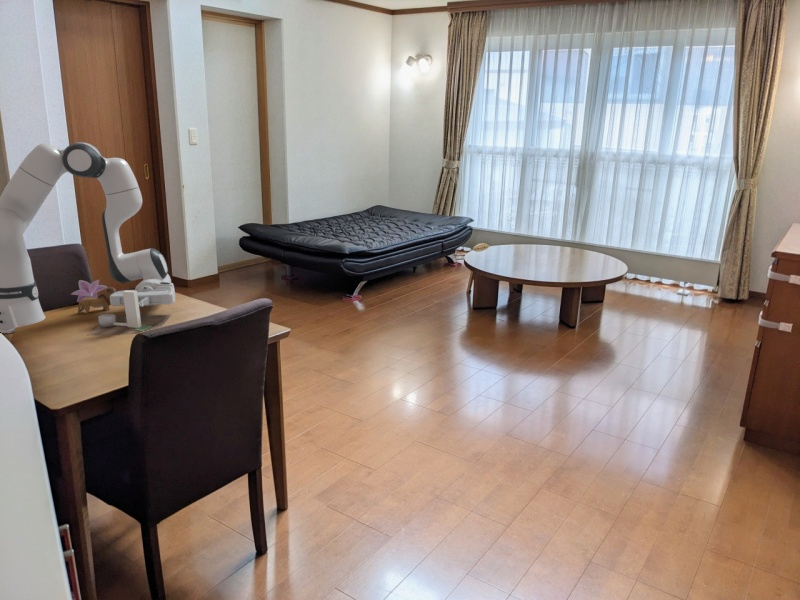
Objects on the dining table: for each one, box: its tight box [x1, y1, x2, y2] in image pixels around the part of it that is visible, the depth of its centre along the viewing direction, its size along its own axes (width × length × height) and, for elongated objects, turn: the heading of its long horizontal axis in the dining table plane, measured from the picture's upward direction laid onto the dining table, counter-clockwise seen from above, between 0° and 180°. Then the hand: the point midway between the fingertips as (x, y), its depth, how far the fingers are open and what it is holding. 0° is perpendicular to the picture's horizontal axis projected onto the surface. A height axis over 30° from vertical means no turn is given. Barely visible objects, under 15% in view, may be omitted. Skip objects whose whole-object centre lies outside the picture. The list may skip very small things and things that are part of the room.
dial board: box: [86, 314, 172, 336], centre depth 197 cm, size 21×19×2 cm
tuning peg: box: [97, 289, 142, 328], centre depth 194 cm, size 14×5×12 cm, turn 77°
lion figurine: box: [77, 287, 117, 315], centre depth 211 cm, size 15×5×9 cm, turn 132°
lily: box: [70, 279, 109, 303], centre depth 226 cm, size 12×12×10 cm
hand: (136, 304), depth 193 cm, fingers closed
